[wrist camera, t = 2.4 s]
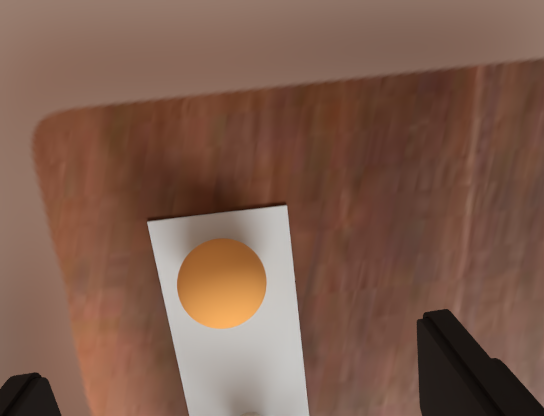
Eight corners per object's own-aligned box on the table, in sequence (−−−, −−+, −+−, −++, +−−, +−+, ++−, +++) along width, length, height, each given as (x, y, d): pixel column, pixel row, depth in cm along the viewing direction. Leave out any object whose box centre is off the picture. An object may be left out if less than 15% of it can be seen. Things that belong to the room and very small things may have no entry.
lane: (147, 221, 30) (147, 222, 30) (286, 204, 30) (286, 205, 30) (215, 534, 40) (215, 537, 39) (320, 522, 40) (320, 524, 39)
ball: (178, 230, 30) (159, 267, 24) (260, 221, 30) (261, 255, 24) (192, 303, 32) (178, 353, 26) (270, 294, 32) (273, 342, 26)
